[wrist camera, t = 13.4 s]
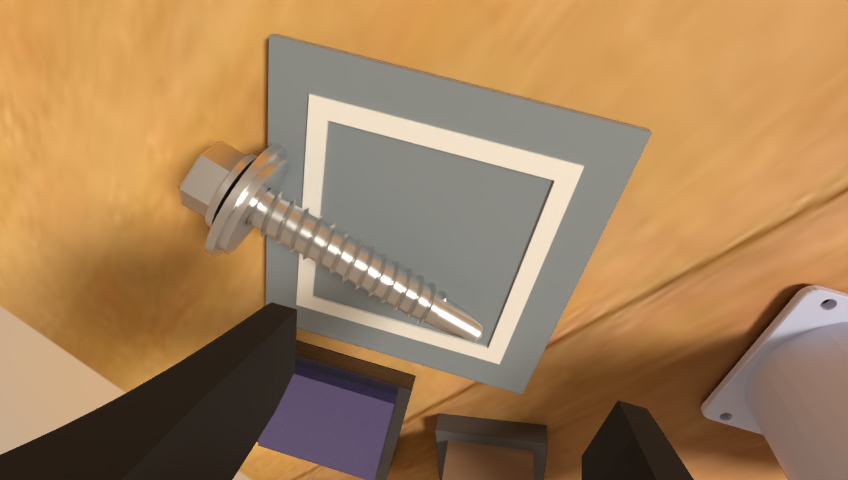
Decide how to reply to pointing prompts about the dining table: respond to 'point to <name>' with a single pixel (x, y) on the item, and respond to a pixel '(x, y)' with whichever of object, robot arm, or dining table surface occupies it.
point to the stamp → (489, 449)
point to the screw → (305, 233)
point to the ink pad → (340, 413)
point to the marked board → (440, 203)
